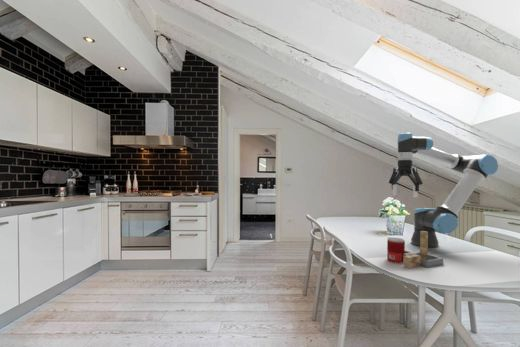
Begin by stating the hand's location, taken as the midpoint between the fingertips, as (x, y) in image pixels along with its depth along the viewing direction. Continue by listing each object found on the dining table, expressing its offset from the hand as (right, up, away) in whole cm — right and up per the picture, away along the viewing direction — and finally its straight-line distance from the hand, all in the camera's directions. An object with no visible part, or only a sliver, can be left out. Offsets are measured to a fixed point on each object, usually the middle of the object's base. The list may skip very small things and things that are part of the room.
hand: (404, 196), depth 164 cm
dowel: (-2, -31, -22) cm, 38 cm away
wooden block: (-11, -32, -28) cm, 44 cm away
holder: (-7, -32, -12) cm, 34 cm away
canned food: (-15, -32, -20) cm, 40 cm away
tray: (-2, -32, -22) cm, 38 cm away
